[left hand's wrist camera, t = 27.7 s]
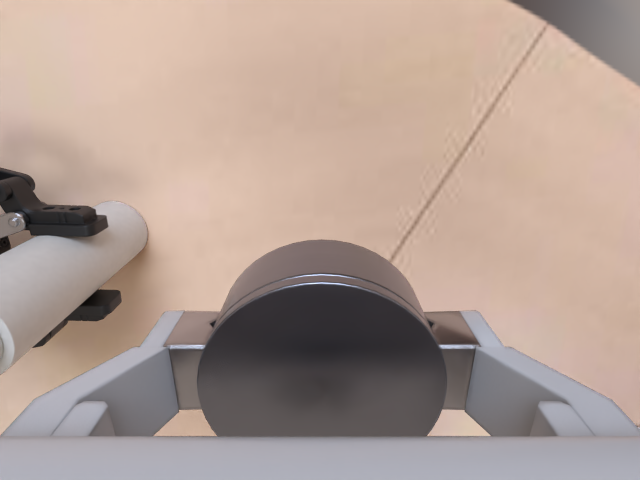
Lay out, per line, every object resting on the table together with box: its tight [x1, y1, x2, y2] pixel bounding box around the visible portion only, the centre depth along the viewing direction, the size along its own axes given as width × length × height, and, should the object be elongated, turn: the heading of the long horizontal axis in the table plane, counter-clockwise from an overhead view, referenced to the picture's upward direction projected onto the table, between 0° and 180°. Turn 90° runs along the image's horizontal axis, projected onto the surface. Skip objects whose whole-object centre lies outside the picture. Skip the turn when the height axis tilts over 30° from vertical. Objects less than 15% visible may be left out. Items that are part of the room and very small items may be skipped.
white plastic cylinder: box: [0, 201, 148, 375], centre depth 24 cm, size 5×5×17 cm
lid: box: [197, 240, 447, 436], centre depth 9 cm, size 5×5×2 cm
